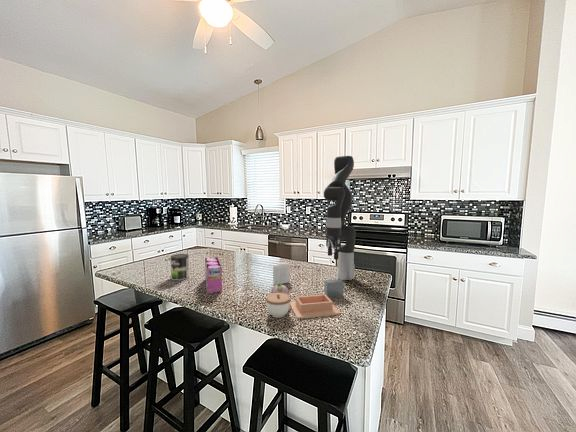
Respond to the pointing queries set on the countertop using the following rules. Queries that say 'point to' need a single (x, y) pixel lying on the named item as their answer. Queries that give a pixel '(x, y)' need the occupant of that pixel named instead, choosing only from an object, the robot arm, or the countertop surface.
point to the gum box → (213, 275)
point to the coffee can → (179, 267)
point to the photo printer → (281, 273)
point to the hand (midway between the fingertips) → (332, 257)
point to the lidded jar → (278, 304)
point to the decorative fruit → (280, 289)
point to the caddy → (313, 306)
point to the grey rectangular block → (333, 288)
